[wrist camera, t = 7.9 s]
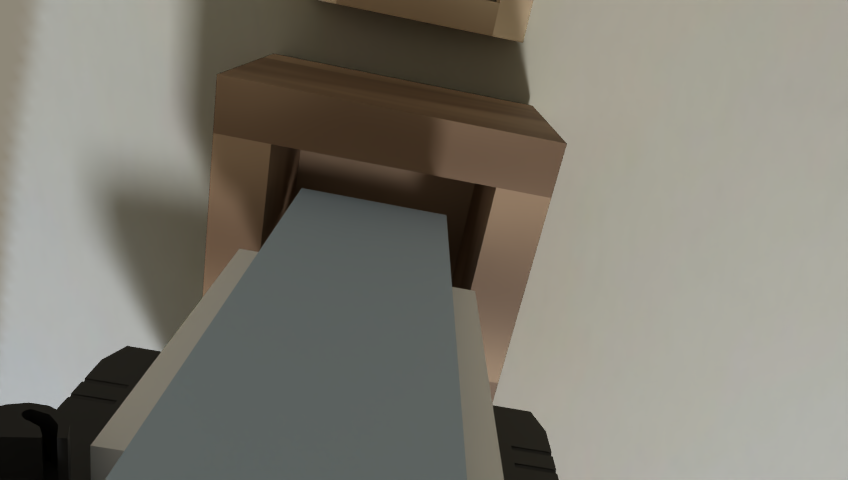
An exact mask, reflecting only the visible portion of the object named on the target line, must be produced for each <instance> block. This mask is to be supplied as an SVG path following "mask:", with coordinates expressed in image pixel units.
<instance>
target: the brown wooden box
mask: <svg viewBox="0 0 848 480" xmlns="http://www.w3.org/2000/svg"><path fill="white" fill-rule="evenodd" d="M566 145H567V143H566V142H565V141H564V140H563V139H562V138H561V137H560V136H559V135H558V133H557V132H556V131H555V130H554V129H553V128H552V127H551V126H550V125H549V123H548V122H547V121H546V120H545V119H544V118H543V117H542V116H541V115H540V114H539V112H538V111H537V110H536V109H535V108H534V107H533V106H531V105H526V104H521V103H516V102H511V101H506V100H501V99H496V98H491V97H486V96H481V95H476V94H471V93H466V92H461V91H456V90H451V89H446V88H441V87H436V86H432V85H427V84H422V83H417V82H412V81H407V80H402V79H397V78H392V77H387V76H382V75H377V74H372V73H367V72H362V71H357V70H352V69H347V68H342V67H337V66H332V65H327V64H322V63H317V62H312V61H307V60H302V59H297V58H293V57H288V56H283V55H278V54H272V55H269V56H266V57H263V58H260V59H258V60H255V61H252V62H249V63H247V64H244V65H241V66H238V67H236V68H233V69H230V70H227V71H225V72H222V73H219V74H217V81H216V96H215V112H214V127H213V143H212V158H211V173H210V189H209V204H208V220H207V235H206V251H205V266H204V281H203V296H204V295H205V293H206V292H207V291H208V290H209V288H210V287H211V286H212V284H213V283H214V282H215V280H216V279H217V278H218V276H219V275H220V274H221V272H222V271H223V270H224V268H225V267H226V266H227V264H228V263H229V262H230V260H231V259H232V258H233V256H234V255H235V254H236V253H237V251H238V250H239V249H244V250H250V251H255V252H259V251H260V249H261V248H262V246H263V245H264V243H265V242H266V240H267V239H268V237H269V236H270V234H271V233H272V231H273V230H274V228H275V227H276V225H277V224H278V222H279V221H280V219H281V218H282V216H283V215H284V213H285V212H286V211H287V209H288V208H289V206H290V205H291V203H292V202H293V200H294V199H295V197H296V196H297V194H298V193H299V191H300V190H301V188H305V189H310V190H315V191H321V192H326V193H331V194H337V195H342V196H347V197H353V198H358V199H363V200H369V201H374V202H379V203H385V204H390V205H395V206H401V207H406V208H411V209H417V210H422V211H427V212H433V213H438V214H443V215H446V216H447V229H448V242H449V255H450V268H451V280H452V287H456V288H461V289H467V290H472V291H475V294H476V301H477V307H478V314H479V320H480V327H481V333H482V340H483V346H484V353H485V359H486V366H487V372H488V379H489V385H490V392H491V398H492V402H493V399H494V395H495V392H496V388H497V385H498V381H499V378H500V374H501V371H502V367H503V364H504V361H505V357H506V354H507V350H508V347H509V343H510V340H511V336H512V333H513V329H514V326H515V322H516V319H517V315H518V312H519V308H520V305H521V301H522V298H523V294H524V291H525V287H526V284H527V280H528V277H529V273H530V270H531V267H532V263H533V260H534V256H535V253H536V249H537V246H538V242H539V239H540V235H541V232H542V228H543V225H544V221H545V218H546V214H547V211H548V207H549V204H550V200H551V197H552V193H553V190H554V186H555V183H556V179H557V176H558V172H559V169H560V166H561V162H562V159H563V155H564V152H565V148H566Z"/></svg>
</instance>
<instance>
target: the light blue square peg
mask: <svg viewBox="0 0 848 480" xmlns="http://www.w3.org/2000/svg"><path fill="white" fill-rule="evenodd" d="M105 480H467V473H466V460H465V447H464V434H463V421H462V409H461V396H460V383H459V370H458V357H457V344H456V332H455V319H454V306H453V293H452V280H451V268H450V255H449V242H448V229H447V216H446V215H443V214H438V213H433V212H427V211H422V210H417V209H411V208H406V207H401V206H395V205H390V204H385V203H379V202H374V201H369V200H363V199H358V198H353V197H347V196H342V195H337V194H331V193H326V192H321V191H315V190H310V189H305V188H301V190H300V191H299V193H298V194H297V196H296V197H295V199H294V200H293V202H292V203H291V205H290V206H289V208H288V209H287V211H286V212H285V213H284V215H283V216H282V218H281V219H280V221H279V222H278V224H277V225H276V227H275V228H274V230H273V231H272V233H271V234H270V236H269V237H268V239H267V240H266V242H265V243H264V245H263V246H262V248H261V249H260V251H259V252H258V254H257V255H256V256H255V258H254V259H253V261H252V262H251V264H250V265H249V267H248V268H247V270H246V271H245V273H244V274H243V276H242V277H241V279H240V280H239V282H238V283H237V285H236V286H235V288H234V289H233V291H232V292H231V294H230V295H229V296H228V298H227V299H226V301H225V302H224V304H223V305H222V307H221V308H220V310H219V311H218V313H217V314H216V316H215V317H214V319H213V320H212V322H211V323H210V325H209V326H208V328H207V329H206V331H205V332H204V334H203V335H202V336H201V338H200V339H199V341H198V342H197V344H196V345H195V347H194V348H193V350H192V351H191V353H190V354H189V356H188V357H187V359H186V360H185V362H184V363H183V365H182V366H181V368H180V369H179V371H178V372H177V374H176V375H175V377H174V378H173V379H172V381H171V382H170V384H169V385H168V387H167V388H166V390H165V391H164V393H163V394H162V396H161V397H160V399H159V400H158V402H157V403H156V405H155V406H154V408H153V409H152V411H151V412H150V414H149V415H148V417H147V418H146V419H145V421H144V422H143V424H142V425H141V427H140V428H139V430H138V431H137V433H136V434H135V436H134V437H133V439H132V440H131V442H130V443H129V445H128V446H127V448H126V449H125V451H124V452H123V454H122V455H121V457H120V458H119V459H118V461H117V462H116V464H115V465H114V467H113V468H112V470H111V471H110V473H109V474H108V476H107V477H106V479H105Z"/></svg>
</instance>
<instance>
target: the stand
mask: <svg viewBox="0 0 848 480" xmlns="http://www.w3.org/2000/svg"><path fill="white" fill-rule="evenodd" d="M320 1H325V2H330V3H334V4H339V5H344V6H349V7H354V8H359V9H363V10H368V11H373V12H378V13H383V14H387V15H392V16H397V17H402V18H407V19H412V20H416V21H421V22H426V23H431V24H436V25H440V26H445V27H450V28H455V29H460V30H465V31H469V32H474V33H479V34H484V35H489V36H493V37H498V38H503V39H508V40H513V41H518V42H522V43H523V40H524V36H525V32H526V28H527V24H528V20H529V16H530V12H531V8H532V4H533V0H497V1H496V2H493V1H488V0H320Z"/></svg>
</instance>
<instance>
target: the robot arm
mask: <svg viewBox="0 0 848 480" xmlns="http://www.w3.org/2000/svg"><path fill="white" fill-rule="evenodd" d="M257 254H258V252H255V251H250V250H244V249H239V250H238V251H237V253H236V254H235V255H234V256H233V258H232V259H231V260H230V262H229V263H228V264H227V266H226V267H225V268H224V270H223V271H222V272H221V274H220V275H219V276H218V278H217V279H216V280H215V282H214V283H213V284H212V286H211V287H210V288H209V290H208V291H207V292H206V293H205V295H204V296H203V297H202V299H201V300H200V301H199V303H198V304H197V305H196V307H195V308H194V309H193V311H192V312H191V313H190V315H189V316H188V317H187V319H186V320H185V321H184V323H183V324H182V325H181V326H180V328H179V329H178V330H177V332H176V333H175V334H174V336H173V337H172V338H171V340H170V341H169V342H168V344H167V345H166V346H165V348H164V349H163V350H162V352H160V351H154V350H148V349H142V348H136V347H130V346H126V347H125V348H123V349H121V350H119V351H117V352H115V353H113V354H111V355H110V356H108V357H106V358H104V359H102V360H101V361H100V362H99V363H98V364H97V366H96V367H95V368H94V369H93V370H92V371H91V372H90V373H89V374H88V375H87V377H86V378H85V381H84V382H81V383H80V384H79V385H78V386H77V388H76V389H75V390H74V391H73V392H72V393H71V397H68V398H67V399H66V400H65V401H64V402H63V403H62V404H61V405H60V406H59V407H58V409H57V410H56V409H54V408H52V407H50V406H47V405H40V404H34V403H20V404H7V405H3V406H0V480H105V479H106V477H107V476H108V474H109V473H110V471H111V470H112V468H113V467H114V465H115V464H116V462H117V461H118V459H119V458H120V457H121V455H122V454H123V452H124V451H125V449H126V448H127V446H128V445H129V443H130V442H131V440H132V439H133V437H134V436H135V434H136V433H137V431H138V430H139V428H140V427H141V425H142V424H143V422H144V421H145V419H146V418H147V417H148V415H149V414H150V412H151V411H152V409H153V408H154V406H155V405H156V403H157V402H158V400H159V399H160V397H161V396H162V394H163V393H164V391H165V390H166V388H167V387H168V385H169V384H170V382H171V381H172V379H173V378H174V377H175V375H176V374H177V372H178V371H179V369H180V368H181V366H182V365H183V363H184V362H185V360H186V359H187V357H188V356H189V354H190V353H191V351H192V350H193V348H194V347H195V345H196V344H197V342H198V341H199V339H200V338H201V336H202V335H203V334H204V332H205V331H206V329H207V328H208V326H209V325H210V323H211V322H212V320H213V319H214V317H215V316H216V314H217V313H218V311H219V310H220V308H221V307H222V305H223V304H224V302H225V301H226V299H227V298H228V296H229V295H230V294H231V292H232V291H233V289H234V288H235V286H236V285H237V283H238V282H239V280H240V279H241V277H242V276H243V274H244V273H245V271H246V270H247V268H248V267H249V265H250V264H251V262H252V261H253V259H254V258H255V256H256V255H257ZM452 293H453V306H454V319H455V332H456V344H457V357H458V370H459V383H460V396H461V409H462V421H463V434H464V447H465V460H466V473H467V480H559V479H558V475H557V474H556V468H555V464H554V460H553V457H552V456H551V449H550V445H549V442H548V438H547V434H546V431H545V430H544V429H543V427H542V426H541V425H540V423H539V422H538V421H537V420H536V418H535V417H534V416H533V414H532V413H531V412H529V411H523V410H517V409H511V408H505V407H499V406H493V405H492V398H491V392H490V385H489V379H488V372H487V366H486V359H485V353H484V346H483V340H482V333H481V327H480V320H479V314H478V307H477V301H476V294H475V291H472V290H467V289H461V288H456V287H452Z"/></svg>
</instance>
